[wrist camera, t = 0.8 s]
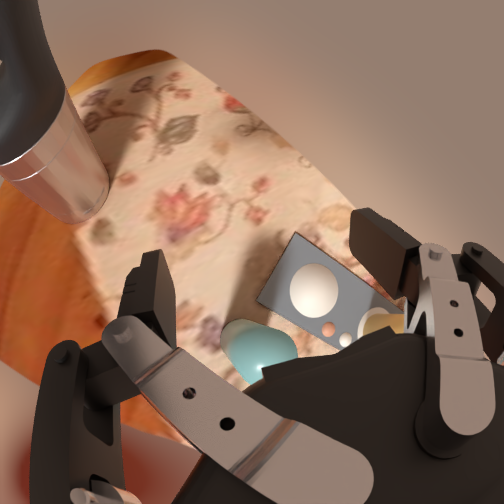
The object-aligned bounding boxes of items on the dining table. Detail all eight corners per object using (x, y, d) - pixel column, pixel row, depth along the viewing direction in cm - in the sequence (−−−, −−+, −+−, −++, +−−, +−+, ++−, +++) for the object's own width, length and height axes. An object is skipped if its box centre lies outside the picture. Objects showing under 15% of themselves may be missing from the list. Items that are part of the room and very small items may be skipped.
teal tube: (211, 347, 31) (225, 371, 20) (234, 310, 32) (258, 317, 22) (248, 367, 32) (277, 397, 21) (270, 332, 33) (308, 346, 22)
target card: (255, 300, 33) (256, 300, 33) (294, 233, 36) (295, 232, 35) (384, 374, 36) (386, 375, 35) (409, 318, 38) (411, 318, 38)
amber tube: (356, 339, 35) (411, 349, 25) (372, 307, 36) (428, 306, 26) (379, 353, 36) (433, 364, 25) (393, 322, 37) (448, 325, 27)
